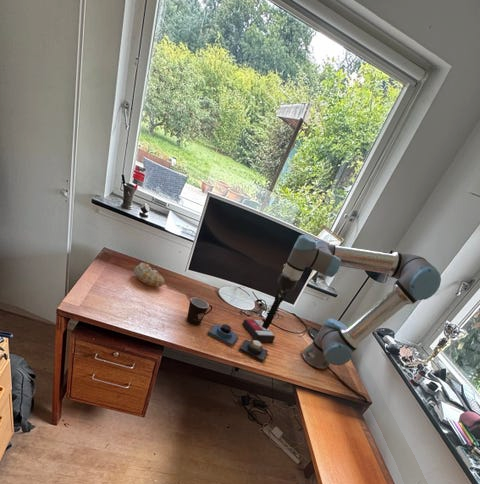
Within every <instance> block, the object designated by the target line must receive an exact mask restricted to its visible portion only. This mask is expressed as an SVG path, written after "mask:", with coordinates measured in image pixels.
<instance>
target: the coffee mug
mask: <svg viewBox="0 0 480 484" xmlns="http://www.w3.org/2000/svg"><path fill="white" fill-rule="evenodd" d="M188 305H189V306H188V312H187V315H186V321H187V323H188V324H190V325H192V326H200V325H201V323H202V322H203V320H204V317H205V316H206V315H208V314H209V313H211V312H212V310H213V306H212V305H211V304H209V303H208V302H207V301H206V300H205V299H203V298H200V297H191V298H190V300H189V304H188ZM209 307H210V309H209ZM208 309H209V310H208Z"/></svg>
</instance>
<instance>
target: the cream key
mask: <svg viewBox="0 0 480 484" xmlns="http://www.w3.org/2000/svg"><path fill="white" fill-rule="evenodd" d="M252 341H253V342H252V347H253V348H255V349H260V348H261V346H263V345H262V344H263V343H262V342H259V341H257V340H254V339H253V340H252Z"/></svg>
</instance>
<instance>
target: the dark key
mask: <svg viewBox="0 0 480 484" xmlns="http://www.w3.org/2000/svg"><path fill="white" fill-rule="evenodd" d="M221 325H222V327H221V330H222V331H223V332H225V333H230V330H232V326H230V325H229V324H225V323H224V324H221Z"/></svg>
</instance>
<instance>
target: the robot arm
mask: <svg viewBox="0 0 480 484" xmlns="http://www.w3.org/2000/svg"><path fill="white" fill-rule="evenodd" d="M287 258H288V259H287V260H286V263H284V264H283V269H282V272H281V273H280V275H279V277H278V279H277V283H278V284H279V287H278V289H277V291H276V294H275V297H274V301H273V303H272V305H271V306H270V309H269V311H267V312H266V318H265V320H264V321H263V325H262V327H263V328H265V329H268V328H269V327H270V326H271V324H272V322H273V320H274V318H275V316H276V313H279V311H280V310H279V308H280V305H281V303H283V301H284V299H285V298H286V297H287V295H288V293H289V291H293V290H295V288H296V287H297V284H298V282H299V280H300V279H301V277H302V275H303V273H304V271H305V269H306V268H308V269H310V270H313V271H314V272H317V273H319V274H321V275H323V276H326V277H329V278H333V277H334V276H336V274H337V273H338V272H339V271H340V268H341V267H344V268H349V269H356V270H362V271H368V272H374V273H380V274H385V275H386V276H387V277H389V278H393V279H396V280H395V282H393V287H392V289H391V290H390V291H388V292H387V293H386V294H385V295H384V296H383V297H381V298H380V299H379V300H378V301H377V302H375V303H374V304H373V305H372V306H371V307H370V308H369V309H367V310H366V311H365V312H364V313H363V314H361V315H360V316H359V317H358V318H357V319H355V320H354V321H353V322H351V324H350V325H349V326H347V325H346V324H345V323H343V322H341V321H339V320H337V319H335V318H326V320H325V321H324V323H323V324H322V326H321V328H320V329H319V332H318V333H317V334H316V336H315V338H314V340H313V341H312V342H311V343H310V344H308V346H307V347H305V348H304V349H303V350H302V352H301V356H302V359H303V360H304V361H305V363H307V364H308V365H309V366H311V367H312V368H315V369H316V370H321V371H323V370H327V369H328V370H329V371H330V372H331V373H332V375H334V377H336V378H337V379H338V380H339V381H340V382H341V383H342V384H343V385H344V386H345V387H346V388H348V389H349V390H350V391H352V392H353V393H355V394H356V395H357V396H359V397H360V398H363V399H364V402H365V403H366V404H368V399H367V397H366V396H365V395H363V394H361V393H359V392H358V391H356V390H355V389H353V387H351V386H349V385H348V384H347V383H346V382H345V381H343V379H341V377H339V376H338V374H336V373H335V371H333V369H331V367H330V365H331V366H343V365H345V364H347V363H349V362H350V360H351V359H352V356H353V353H354V352H355V351H356V350H358V348H359V344H360V342H362V341H363V340H364V339H366V338H367V337H368V336H370V335H371V334H372V333H373V332H374V331H376V330H377V329H378V328H379V327H381V326H382V325H383V324H385V322H387V321H388V320H390V319H391V318H392V317H393V316H395V314H397V313H398V312H399V311H401V310H402V309H403V308H404V307H406V306H407V305H414V304H415V303H417V302H418V301H424V300H428V299H430V298H431V297H433V296H434V295H435V294H436V293H437V292H438V291H439V288H440V286H441V282H442V276H441V274H440V271H438V269H437V268H436V267H435V266H434V265H432V264H431V263H430V262H429V261H428V260H427V259H426V258H425V257H423V256H420V255H417V254H412V253H411V254H410V253H403V252H396V251H395V252H393V253H392V254H391V253H386V252H381V251H380V252H379V251H373V250H366V249H361V248H355V247H348V246H342V245H337V244H331V243H327V242H325V241H324V240H323V239H322V240H321V239H319V240H315V239H314V238H312V237H311V236H309V235H305V234H301V235H299V236H298V237H297V239H296V241H295V243H294V245H293V248H292V249H291V252H290V254H289V256H288V257H287ZM288 290H289V291H288Z"/></svg>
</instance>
